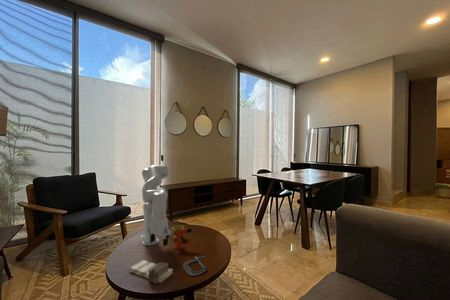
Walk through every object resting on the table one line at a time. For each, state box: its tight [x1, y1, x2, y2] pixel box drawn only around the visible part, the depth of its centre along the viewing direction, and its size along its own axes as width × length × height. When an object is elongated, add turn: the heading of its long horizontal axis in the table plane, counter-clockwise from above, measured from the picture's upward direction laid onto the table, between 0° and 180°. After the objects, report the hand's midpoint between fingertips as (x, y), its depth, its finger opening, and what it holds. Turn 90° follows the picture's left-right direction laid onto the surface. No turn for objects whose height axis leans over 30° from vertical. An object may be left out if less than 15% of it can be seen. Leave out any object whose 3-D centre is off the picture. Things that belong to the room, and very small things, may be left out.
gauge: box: [148, 261, 169, 284], centre depth 124 cm, size 5×10×7 cm, turn 154°
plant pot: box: [171, 225, 185, 240], centre depth 179 cm, size 9×9×9 cm
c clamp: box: [182, 255, 208, 277], centre depth 137 cm, size 20×17×3 cm
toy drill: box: [173, 227, 199, 250], centre depth 162 cm, size 5×19×15 cm, turn 94°
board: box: [129, 259, 174, 283], centre depth 129 cm, size 24×10×3 cm, turn 64°
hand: (159, 243), depth 126 cm, fingers open, 9 cm apart
